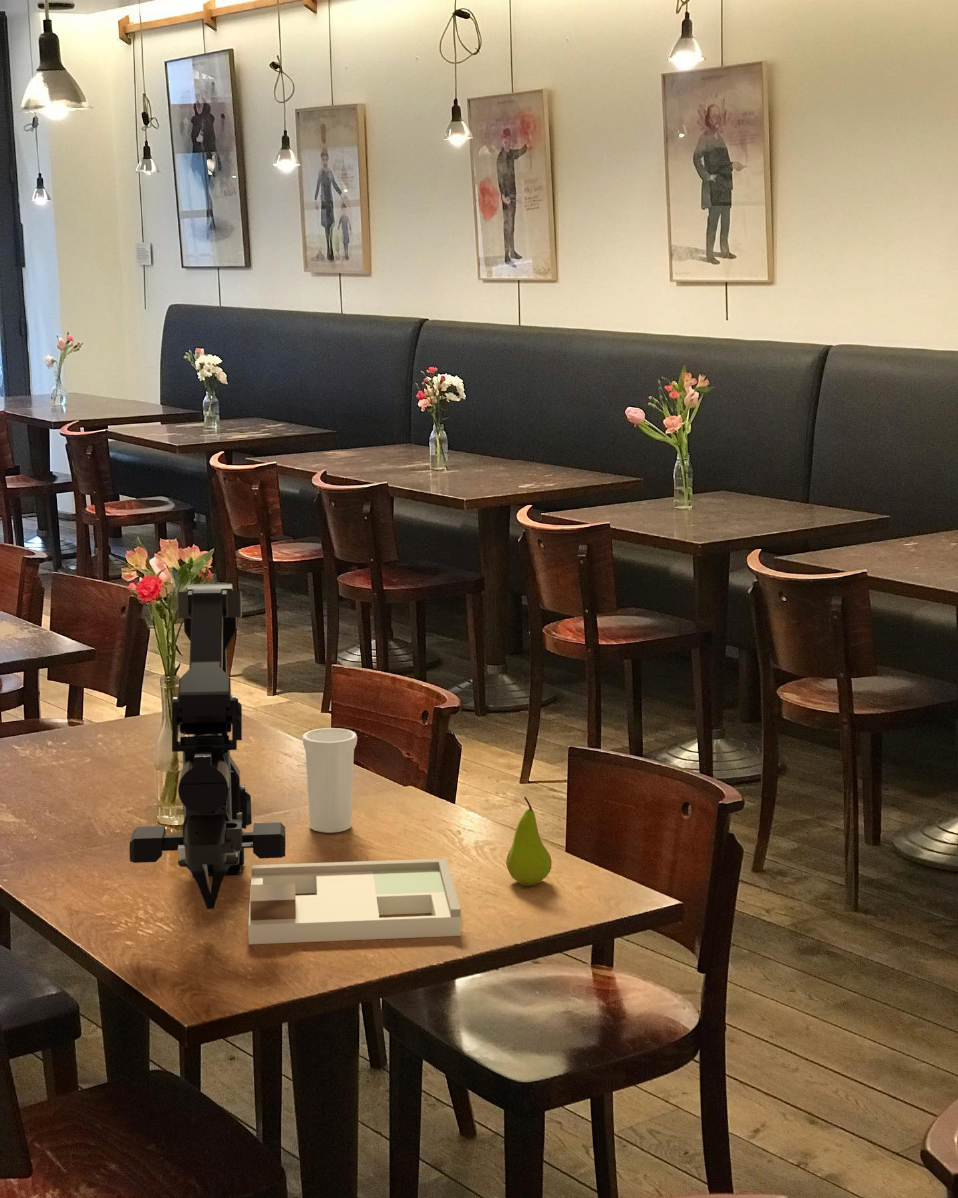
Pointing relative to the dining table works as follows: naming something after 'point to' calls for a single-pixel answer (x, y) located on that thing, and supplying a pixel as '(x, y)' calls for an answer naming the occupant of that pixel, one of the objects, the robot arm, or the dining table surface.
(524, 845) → the fruit
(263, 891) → the walnut block
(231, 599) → the robot arm
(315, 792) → the cup
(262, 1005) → the dining table surface
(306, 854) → the dining table surface
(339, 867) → the box
